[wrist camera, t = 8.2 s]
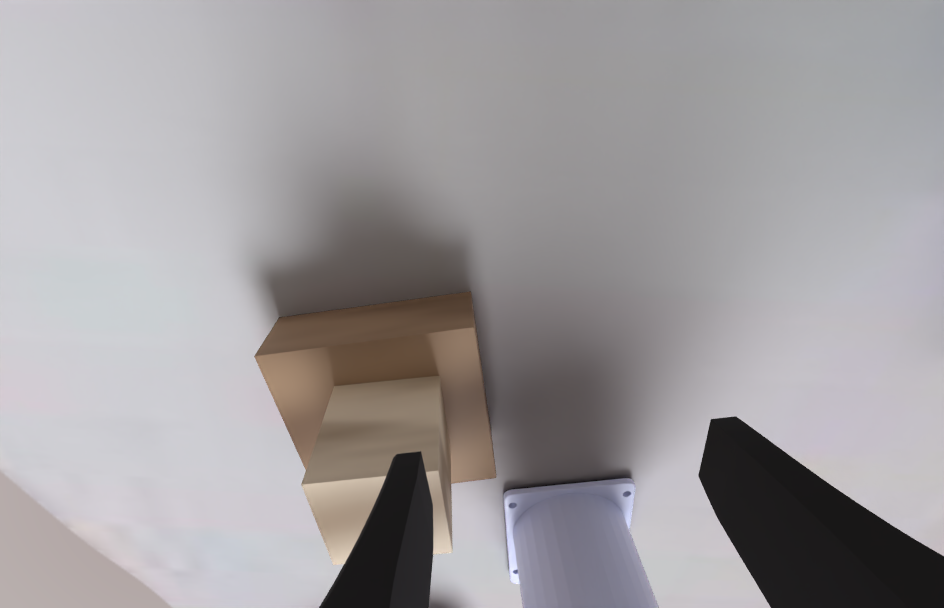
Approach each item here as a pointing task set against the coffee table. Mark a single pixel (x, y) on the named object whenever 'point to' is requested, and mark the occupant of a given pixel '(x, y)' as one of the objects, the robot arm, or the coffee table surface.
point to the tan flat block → (383, 368)
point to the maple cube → (377, 457)
